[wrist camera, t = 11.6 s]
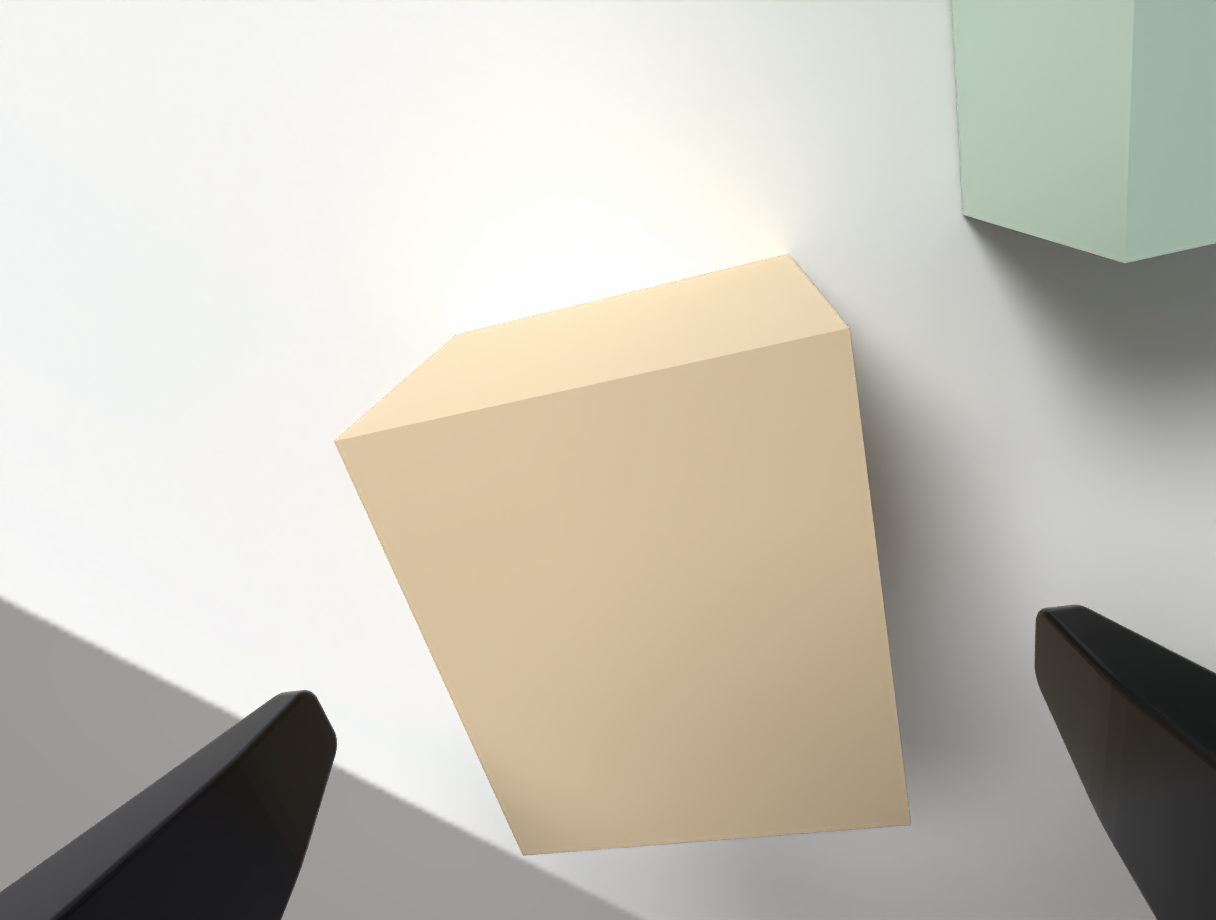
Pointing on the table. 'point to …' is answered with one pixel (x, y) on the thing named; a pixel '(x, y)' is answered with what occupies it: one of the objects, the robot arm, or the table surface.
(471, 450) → the tan rectangular block
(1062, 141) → the tote
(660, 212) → the table surface
